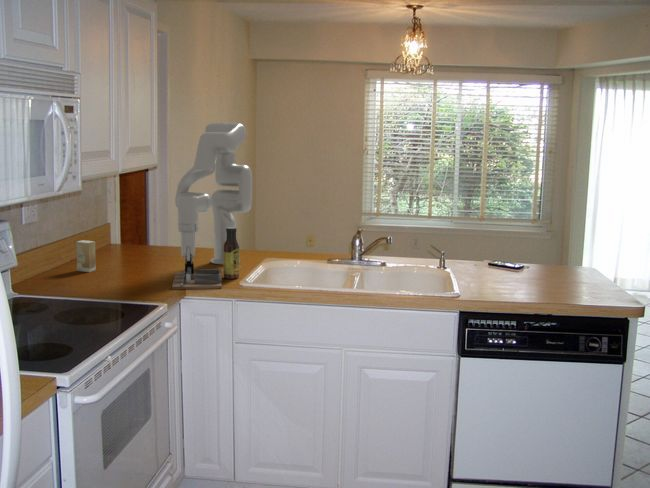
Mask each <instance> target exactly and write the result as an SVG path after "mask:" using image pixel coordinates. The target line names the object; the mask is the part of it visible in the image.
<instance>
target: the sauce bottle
mask: <svg viewBox="0 0 650 488" xmlns="http://www.w3.org/2000/svg"><path fill="white" fill-rule="evenodd" d="M237 230H238V229H237V227H236V228H235V227H228V228H226V232H227V237H226V238H227V240H226V242H225V243H224V251H223V265H222V266H223V269H222V270H223V277H224V279H227V280H228V279H230V280H233V279H238V278H239V277H240V262H239V259H240V246H239V243H238V240H237Z"/></svg>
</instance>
